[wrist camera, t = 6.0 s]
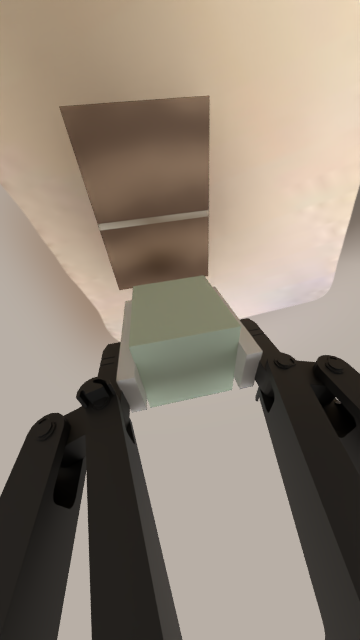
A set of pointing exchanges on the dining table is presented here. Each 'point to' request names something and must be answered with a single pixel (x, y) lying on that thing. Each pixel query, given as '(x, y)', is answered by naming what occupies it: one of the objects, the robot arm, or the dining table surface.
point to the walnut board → (147, 183)
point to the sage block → (182, 340)
